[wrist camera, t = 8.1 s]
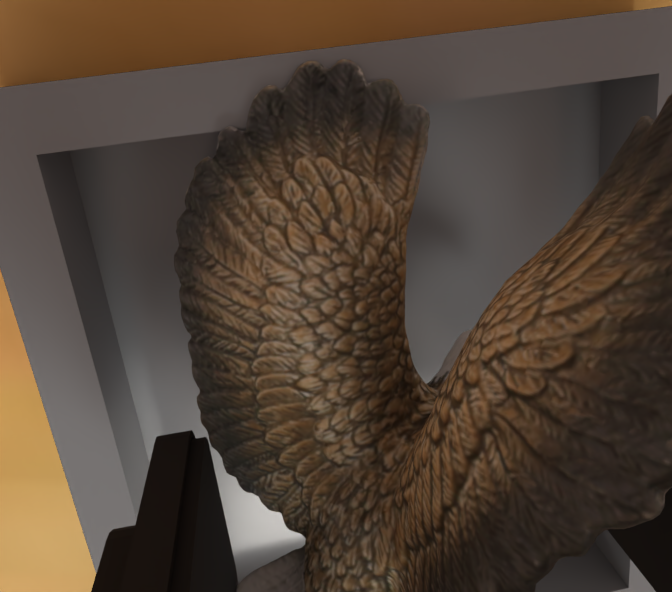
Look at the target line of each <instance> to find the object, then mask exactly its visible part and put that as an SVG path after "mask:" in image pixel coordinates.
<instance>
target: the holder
mask: <svg viewBox="0 0 672 592" xmlns="http://www.w3.org/2000/svg"><path fill="white" fill-rule="evenodd" d="M341 59H346V60H351V61H353V62H354V63H356V64H357V65H358V66H359V67H360V68H361V69H362V71H363V73H364V76H365V79H366V82H367V83H371V82H373V81H376V80H380V79H390V80H393V81H394V83H395V84H396V85H397V87H398V90H399V92H400V94H401V95H402V98H403V100H404V102H405V103H407V104H420V105H421V106H423V107H425V108H426V110H427V111H428V112H429V117H430V125H429V129H428V146H427V152H426V155H425V158H424V164H423V166H422V169H421V172H420V183H419V188H418V193H417V195H416V198H415V202H414V206H413V210H412V214H411V217H410V221H409V224H408V229H407V236H406V246H407V249H406V282H405V328H406V334H407V338H408V341H409V347H410V353H411V357H412V361H413V364H414V367H415V369H416V371H417V372H418V374H419V375H420V377H421V378H422V380H423V381H424V382H425V383H426V384H427V383H428V382H430V381H431V380H432V379H433V377H434V376H435V375H436V374H437V373H438V372H439V370H440V369H441V367H442V364H443V362H444V360H445V358H446V356H447V354H448V353H449V351H450V350H451V348H452V347H453V345H454V343H455V341H456V340H457V339H458V337H459V336H460V335H461V334H462V333H463V332H465V331H467V330H471V329H473V328H474V326H475V325H476V323H477V322H478V320H479V318H480V317H481V315H482V313H483V311H484V310H485V309H486V308H487V306H488V305H489V304H490V302H491V301H492V300H493V298H494V297H495V296H496V294H497V293H498V291H499V290H500V288H501V287H502V286H503V284H504V283H505V281H506V280H507V279H509V278H510V277H511V276H512V275H513V274H514V273H515V272H516V271H517V270H518V269H519V268H521V267H522V266H523V265H524V264H525V263H526V262H527V261H529V260H530V259H531V258H532V257H533V256H535V255H536V253H537V252H538V251H539V250H540V249H541V248H542V247H543V246H544V245H545V244H546V243H547V242H548V241H549V240H550V239H551V238H553V237H554V236H555V235H556V234H557V233H558V232H559V231H560V230H561V229H562V228H563V227H564V226H565V225H566V223H567V222H568V221H569V219H570V218H571V217H572V215H573V214H574V212H575V211H576V210H577V208H578V207H579V206H580V205H581V204H582V202H583V201H584V200H585V199H586V198H587V197H588V196H589V194H590V193H591V192H592V191H593V189H594V188H595V186H596V185H597V183H598V182H599V180H600V178H601V177H602V176H603V175H604V174H605V172H606V171H607V170H608V168H609V166H610V164H611V163H612V161H613V159H614V157H615V156H616V154H617V153H618V151H619V150H620V148H621V147H622V145H623V144H624V143H625V141H626V140H627V138H628V137H629V135H630V134H631V132H632V130H633V128H634V126H635V125H636V123H637V122H638V120H639V119H640V118H641V117H643V116H650V118H651V119H653V120H654V121H655V120H656V118H657V116H658V115H659V113H660V111H661V109H662V108H663V106H664V104H665V102H666V100H667V98H668V97H669V96H670V95H671V94H672V6H669V7H661V8H653V9H644V10H636V11H628V12H620V13H611V14H603V15H595V16H587V17H578V18H570V19H562V20H554V21H545V22H537V23H529V24H521V25H512V26H504V27H496V28H488V29H479V30H471V31H463V32H455V33H446V34H438V35H430V36H422V37H413V38H405V39H397V40H389V41H380V42H372V43H364V44H356V45H347V46H339V47H331V48H323V49H314V50H306V51H298V52H290V53H281V54H273V55H265V56H257V57H248V58H240V59H232V60H224V61H215V62H207V63H199V64H191V65H182V66H174V67H166V68H158V69H149V70H141V71H133V72H125V73H116V74H108V75H100V76H92V77H83V78H75V79H67V80H59V81H50V82H42V83H34V84H26V85H17V86H9V87H1V88H0V269H1V272H2V275H3V279H4V282H5V285H6V288H7V291H8V294H9V298H10V301H11V304H12V307H13V310H14V313H15V317H16V320H17V323H18V326H19V329H20V333H21V336H22V339H23V342H24V345H25V348H26V352H27V355H28V358H29V361H30V364H31V367H32V371H33V374H34V377H35V380H36V383H37V387H38V390H39V393H40V396H41V399H42V402H43V406H44V409H45V412H46V415H47V418H48V422H49V425H50V428H51V431H52V434H53V437H54V441H55V444H56V447H57V450H58V453H59V456H60V460H61V463H62V466H63V469H64V472H65V476H66V479H67V482H68V485H69V488H70V491H71V495H72V498H73V501H74V504H75V507H76V511H77V514H78V517H79V520H80V523H81V526H82V530H83V533H84V536H85V539H86V542H87V545H88V549H89V552H90V555H91V558H92V561H93V565H94V568H95V571H96V574H97V570H98V567H99V563H100V560H101V556H102V553H103V550H104V546H105V543H106V539H107V537H108V535H109V532H110V531H112V530H113V529H117V528H122V527H127V526H133V525H136V520H137V516H138V512H139V507H140V503H141V499H142V495H143V490H144V486H145V482H146V477H147V473H148V469H149V465H150V460H151V456H152V452H153V448H154V443H155V439H156V437H157V436H161V435H167V434H173V433H178V432H184V431H190V430H192V431H193V433H194V435H195V438H202V437H207V439H208V442H209V446H210V451H211V456H212V460H213V465H214V469H215V474H216V478H217V483H218V488H219V492H220V497H221V501H222V506H223V510H224V515H225V520H226V524H227V529H228V533H229V538H230V542H231V547H232V552H233V556H234V561H235V565H236V571H237V578H238V584H239V583H240V582H241V581H242V580H243V579H244V578H245V577H246V576H247V575H249V574H250V573H251V572H253V571H254V570H256V569H258V568H260V567H262V566H264V565H267V564H268V563H270V562H272V561H274V560H276V559H278V558H280V557H281V556H283V555H286V554H288V553H289V552H291V551H293V550H295V549H299V548H301V547H303V546H304V545H305V540H306V539H305V537H304V536H303V535H302V534H300V533H297V532H294V531H291V530H289V529H288V528H287V527H286V525H285V523H284V521H283V516H282V514H281V513H280V512H274V511H270V510H268V509H267V508H266V507H265V506H264V505H263V504H262V503H261V501H260V498H259V497H258V496H256V495H254V494H253V493H247V492H245V491H244V490H243V489H242V488H241V487H240V486H239V484H238V481H237V479H236V477H234V476H231V475H229V474H228V473H227V472H226V470H225V468H224V466H223V461H222V458H221V456H220V454H219V453H218V452H217V451H216V450H215V449H214V448H213V447H212V446H211V443H210V441H209V436H208V432H207V430H206V429H205V427H204V426H203V425H202V423H201V419H200V413H201V412H200V409H199V407H198V405H197V396H198V395H199V393H200V390H199V388H198V386H197V384H196V382H195V380H194V378H193V375H192V360H191V357H190V353H189V349H188V342H189V340H190V339H191V334H190V333H189V332H187V330H186V328H185V326H184V323H183V320H182V317H181V303H180V298H179V290H180V287H181V283H180V281H179V278H178V275H177V273H176V272H175V267H174V254H175V252H176V251H177V249H178V246H179V243H178V237H177V233H176V229H177V220H178V219H179V218H180V216H181V215H182V213H183V212H184V211H185V210H186V206H185V196H186V191H187V189H188V187H189V185H190V183H191V181H192V179H193V175H194V168H195V167H196V166H197V165H198V164H199V162H200V161H201V160H203V159H204V158H206V157H210V158H212V159H213V157H214V156H215V155H216V148H217V144H218V135H219V134H220V132H221V131H222V130H223V129H225V128H226V127H228V126H233V127H235V128H236V129H238V130H240V131H245V130H246V123H247V118H248V112H249V109H250V106H251V104H252V102H253V99H254V97H255V96H256V95H257V94H258V92H259V91H260V90H261V89H262V88H264V87H266V86H268V85H276V86H277V87H278V88H279V89H283V88H285V87H286V86H287V85H288V83H289V81H290V80H291V78H292V76H293V74H294V72H295V71H296V69H297V67H298V66H300V65H301V64H303V63H305V62H307V61H317V62H319V63H321V64H322V65H323V66H324V67H325V68H328V69H330V68H331V67H332V66H333V65H335V64H336V63H337V62H338V61H339V60H341ZM535 592H656V591H655V590H654V588H653V587H652V586H651V585H650V583H649V582H648V581H647V580H646V578H645V577H644V576H643V575H642V573H641V572H640V571H639V569H638V568H637V567H636V566H635V564H634V563H633V562H632V561H631V559H630V558H629V557H628V555H627V554H626V553H625V552H624V550H623V549H622V548H621V547H620V545H619V544H618V543H617V542H616V540H615V539H614V538H613V536H612V535H611V534H610V533H609V531H608V530H605V531H603V532H602V533H601V534H600V535H598V536H597V538H596V540H595V542H594V543H593V544H592V546H591V547H590V549H589V551H588V552H587V553H586V554H585V555H583V556H581V557H565V558H562V559H559V560H558V561H557V562H556V563H555V565H554V567H553V569H552V570H551V571H550V572H549V573H548V574H547V575H546V576H545V577H544V578H542V579H541V580H540V581H539V582H538V583H536V587H535Z"/></svg>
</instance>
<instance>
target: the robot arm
mask: <svg viewBox="0 0 672 592" xmlns="http://www.w3.org/2000/svg"><path fill="white" fill-rule="evenodd" d="M608 531H609V533H610V534H611V535H612V536H613V538H614V539H615V540H616V542H617V543H618V544H619V545H620V547H621V548H622V549H623V550H624V552H625V553H626V554H627V555H628V557H629V558H630V559H631V561H632V562H633V563H634V564H635V566H636V567H637V568H638V569H639V571H640V572H641V573H642V575H643V576H644V577H645V578H646V580H647V581H648V582H649V583H650V585H651V586H652V587H653V588H654V590H655V591H656V592H672V488H670V489H669V490H668V491H667V492H666V494H665V504H664V508H663V510H662V512H661V513H660V515H658V516H657V517H655V518H654V519H652V520H650V521H647V522H644V523H641V524H638V525H636V526H633V527H630V528H626V529H608ZM237 585H238V578H237V571H236V565H235V561H234V556H233V552H232V547H231V542H230V538H229V533H228V529H227V524H226V520H225V515H224V510H223V506H222V501H221V497H220V492H219V488H218V483H217V478H216V474H215V469H214V465H213V460H212V456H211V451H210V446H209V442H208V439H207V437H202V438H195V435H194V433H193V431H192V430H190V431H184V432H178V433H173V434H167V435H161V436H157V437H156V439H155V443H154V448H153V452H152V456H151V460H150V465H149V469H148V473H147V477H146V482H145V486H144V490H143V495H142V499H141V503H140V507H139V512H138V516H137V520H136V525H133V526H127V527H122V528H117V529H113V530H112V531H110V532H109V535H108V537H107V539H106V543H105V546H104V550H103V553H102V556H101V560H100V563H99V567H98V570H97V574H96V577H95V581H94V584H93V588H92V591H91V592H236V587H237Z"/></svg>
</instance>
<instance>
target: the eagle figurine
mask: <svg viewBox="0 0 672 592" xmlns="http://www.w3.org/2000/svg"><path fill="white" fill-rule="evenodd" d="M429 125H430V117H429V112H428V111H427V110H426V108H425V107H423V106H421V105H420V104H407V103H405V102H404V100H403V98H402V95H401V94H400V92H399V90H398V87H397V85H396V84H395V83H394V81H393V80H390V79H380V80H376V81H373V82H371V83H367V82H366V79H365V76H364V73H363V71H362V69H361V68H360V67H359V66H358V65H357V64H356V63H354V62H353V61H351V60H346V59H341V60H339V61H338V62H337V63H336V64H335V65H333V66H332V67H331V68H330V69H328V68H325V67H324V66H323V65H322V64H321V63H319V62H317V61H307V62H305V63H303V64H301V65H300V66H298V67H297V69H296V71H295V72H294V74H293V76H292V78H291V80H290V81H289V83H288V85H287V86H286V87H285V88H283V89H279V88H278V87H277V86H276V85H268V86H266V87H264V88H262V89H261V90H260V91H259V92H258V94H257V95H256V96H255V97H254V99H253V102H252V104H251V106H250V109H249V112H248V118H247V123H246V130H245V131H240V130H238V129H236V128H235V127H233V126H228V127H226V128H225V129H223V130H222V131H221V132H220V134H219V135H218V144H217V148H216V155H215V156H214V157H213V159H212V158H210V157H206V158H204V159H203V160H201V161H200V162H199V164H198V165H197V166H196V167H195V168H194V175H193V179H192V181H191V183H190V185H189V187H188V189H187V191H186V196H185V206H186V210H185V211H184V212H183V213H182V215H181V216H180V218H179V219H178V220H177V229H176V233H177V237H178V243H179V246H178V249H177V251H176V252H175V254H174V267H175V272H176V273H177V275H178V278H179V281H180V283H181V287H180V290H179V298H180V303H181V317H182V320H183V323H184V326H185V328H186V330H187V332H189V333H190V334H191V339H190V340H189V342H188V349H189V353H190V357H191V360H192V375H193V378H194V380H195V382H196V384H197V386H198V388H199V390H200V393H199V395H198V396H197V405H198V407H199V409H200V412H201V413H200V419H201V423H202V425H203V426H204V427H205V429H206V430H207V432H208V436H209V441H210V443H211V446H212V447H213V448H214V449H215V450H216V451H217V452H218V453H219V454H220V456H221V458H222V461H223V466H224V468H225V470H226V472H227V473H228V474H229V475H231V476H234V477H236V479H237V481H238V484H239V486H240V487H241V488H242V489H243V490H244V491H245V492H247V493H253V494H254V495H256V496H258V497H259V498H260V501H261V503H262V504H263V505H264V506H265V507H266V508H267V509H268V510H270V511H274V512H280V513H281V514H282V516H283V521H284V523H285V525H286V527H287V528H288V529H289V530H291V531H294V532H297V533H300V534H302V535H303V536H304V537H305V539H306V540H305V545H304V546H303V547H301V548H299V549H295V550H293V551H291V552H289V553H288V554H286V555H283V556H281V557H280V558H278V559H276V560H274V561H272V562H270V563H268V564H267V565H264V566H262V567H260V568H258V569H256V570H254V571H253V572H251V573H250V574H249V575H247V576H246V577H245V578H244V579H243V580H242V581H241V582H240V583H239V584H238V585H237V587H236V592H535V587H536V583H538V582H539V581H540V580H541V579H542V578H544V577H545V576H546V575H547V574H548V573H549V572H550V571H551V570H552V569H553V567H554V565H555V563H556V562H557V561H558V560H559V559H562V558H565V557H581V556H583V555H585V554H586V553H587V552H588V551H589V549H590V547H591V546H592V544H593V543H594V542H595V540H596V538H597V536H598V535H600V534H601V533H602V532H603V531H605V530H608V529H626V528H630V527H633V526H636V525H638V524H641V523H644V522H647V521H650V520H652V519H654V518H655V517H657V516H658V515H660V513H661V512H662V510H663V508H664V504H665V494H666V492H667V491H668V490H669V489H670V488H672V94H671V95H670V96H669V97H668V98H667V100H666V102H665V104H664V106H663V108H662V109H661V111H660V113H659V115H658V116H657V118H656V120H655V121H654V120H653V119H651V118H650V116H643V117H641V118H640V119H639V120H638V122H637V123H636V125H635V126H634V128H633V130H632V132H631V134H630V135H629V137H628V138H627V140H626V141H625V143H624V144H623V145H622V147H621V148H620V150H619V151H618V153H617V154H616V156H615V157H614V159H613V161H612V163H611V164H610V166H609V168H608V170H607V171H606V172H605V174H604V175H603V176H602V177H601V178H600V180H599V182H598V183H597V185H596V186H595V188H594V189H593V191H592V192H591V193H590V194H589V196H588V197H587V198H586V199H585V200H584V201H583V202H582V204H581V205H580V206H579V207H578V208H577V210H576V211H575V212H574V214H573V215H572V217H571V218H570V219H569V221H568V222H567V223H566V225H565V226H564V227H563V228H562V229H561V230H560V231H559V232H558V233H557V234H556V235H555V236H554V237H553V238H551V239H550V240H549V241H548V242H547V243H546V244H545V245H544V246H543V247H542V248H541V249H540V250H539V251H538V252H537V253H536V255H535V256H533V257H532V258H531V259H530V260H529V261H527V262H526V263H525V264H524V265H523V266H522V267H521V268H519V269H518V270H517V271H516V272H515V273H514V274H513V275H512V276H511V277H510V278H509V279H507V280H506V281H505V283H504V284H503V286H502V287H501V288H500V290H499V291H498V293H497V294H496V296H495V297H494V298H493V300H492V301H491V302H490V304H489V305H488V306H487V308H486V309H485V310H484V311H483V313H482V315H481V317H480V318H479V320H478V322H477V323H476V325H475V326H474V328H473V329H471V330H467V331H465V332H463V333H462V334H461V335H460V336H459V337H458V339H457V340H456V341H455V343H454V345H453V347H452V348H451V350H450V351H449V353H448V354H447V356H446V358H445V360H444V362H443V364H442V367H441V369H440V370H439V372H438V373H437V374H436V375H435V376H434V377H433V379H432V380H431V381H430V382H428V383H427V384H426V383H425V382H424V381H423V380H422V378H421V377H420V375H419V374H418V372H417V371H416V369H415V367H414V364H413V361H412V357H411V353H410V347H409V341H408V338H407V334H406V328H405V282H406V249H407V246H406V236H407V229H408V224H409V221H410V217H411V214H412V210H413V206H414V202H415V198H416V195H417V193H418V188H419V183H420V172H421V169H422V166H423V164H424V158H425V155H426V152H427V146H428V129H429Z"/></svg>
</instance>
